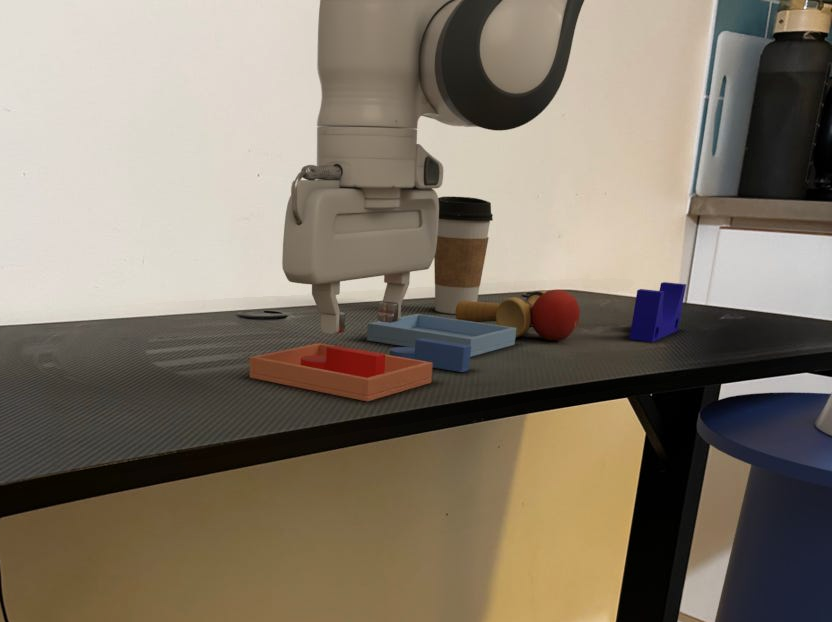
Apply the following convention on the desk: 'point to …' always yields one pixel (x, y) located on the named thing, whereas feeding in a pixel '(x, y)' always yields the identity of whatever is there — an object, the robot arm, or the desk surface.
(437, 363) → the blue stepped block
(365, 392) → the red tray
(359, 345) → the desk surface
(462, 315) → the kendama
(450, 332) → the blue tray
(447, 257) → the coffee cup
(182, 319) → the desk surface
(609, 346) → the desk surface
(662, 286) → the cable clip
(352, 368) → the red stepped block
